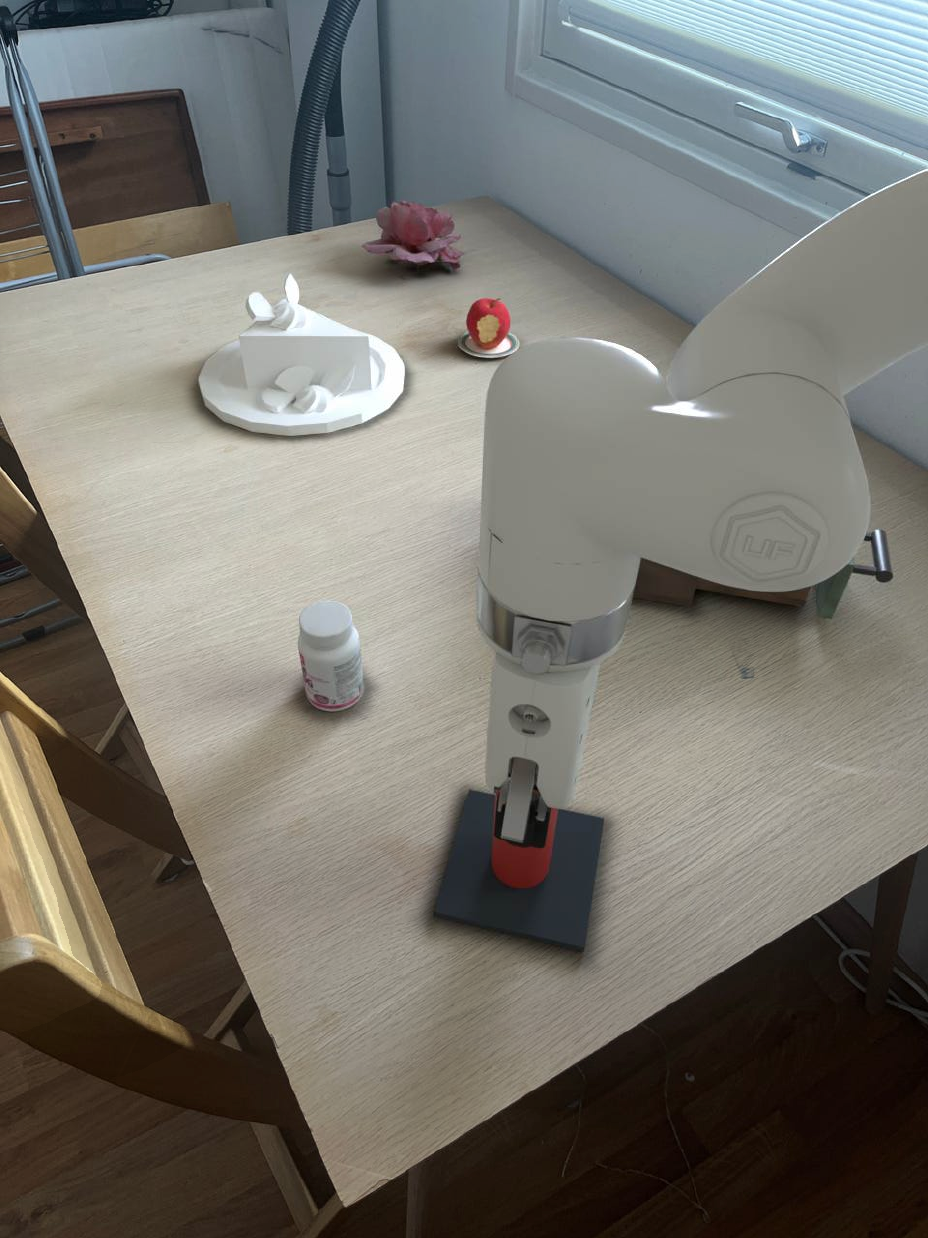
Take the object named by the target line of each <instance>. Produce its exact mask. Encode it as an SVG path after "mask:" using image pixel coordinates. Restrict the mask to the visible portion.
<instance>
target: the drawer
mask: <svg viewBox="0 0 928 1238" xmlns="http://www.w3.org/2000/svg"><path fill="white" fill-rule="evenodd" d="M863 542H870V548H871V556H872V562H873V566H869V565H862V564H856V563H855V556H854V557H853V558H852V559H851V560H850V562H849V563H848V564H847V565H846V566H844V567H843V568H842V569H841V570H840V571H839V572H837V573H836V574H834V575H833V576H831V577H830V578H828V579H826V580H824V581H822V582H820V583H817V584H815V586H816V587H815V588H816V602H817V603H816V604H817V616H818V618H822V619H828V620H833V618H834V617H835V616H834V615H835V614H836V611H837V608H838V606H839V604H840V601H841V599H842V596H843V594H844V592H845V590H846V587H847V585H848V583H849V580H850V578H851V576H852V574H858V575H863V576H869V577H875V580H876V581H877V582H878V583H882V584H885V583H889V582H891V581H892V580H893V578H894V572H893V565H892V560H891V559H892V558H891V554H890V547H889V541H888V535H887V532H886V531H885V530H883V529H875V530H873V531H872V532H866V535H865V538H864V540H863ZM811 589H812V586H809V587H806V588H802V589H798V590H792V591H785V592H761V591H751V590H746V589H741V588H735V587H730V586H726V585H723V584H719V583H716V582H712V581H709V580H706V579H703V578H700V577H698V581H697V585H696V588H695V590H702V591H707V592H714V593H719V594H725V595H732V596H738V597H744V598H748V599H754V600H760V601H767V602H773V603H779V604H784V605H789V606H796V607H803V608H804V607H805V604H806V602H807V599H808V597H809V594H810V592H811Z"/></svg>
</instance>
